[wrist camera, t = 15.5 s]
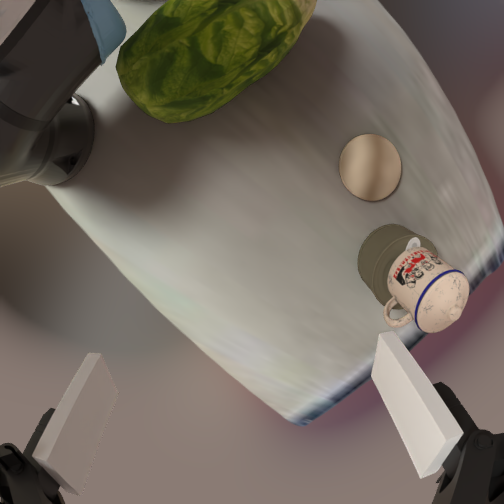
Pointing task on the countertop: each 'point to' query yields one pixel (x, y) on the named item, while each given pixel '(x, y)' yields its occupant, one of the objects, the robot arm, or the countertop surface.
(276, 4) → the lettuce
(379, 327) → the countertop surface
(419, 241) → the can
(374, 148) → the beech coaster
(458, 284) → the teacup with lid
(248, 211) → the countertop surface
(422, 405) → the robot arm
